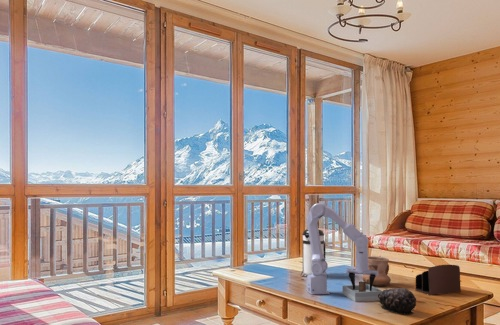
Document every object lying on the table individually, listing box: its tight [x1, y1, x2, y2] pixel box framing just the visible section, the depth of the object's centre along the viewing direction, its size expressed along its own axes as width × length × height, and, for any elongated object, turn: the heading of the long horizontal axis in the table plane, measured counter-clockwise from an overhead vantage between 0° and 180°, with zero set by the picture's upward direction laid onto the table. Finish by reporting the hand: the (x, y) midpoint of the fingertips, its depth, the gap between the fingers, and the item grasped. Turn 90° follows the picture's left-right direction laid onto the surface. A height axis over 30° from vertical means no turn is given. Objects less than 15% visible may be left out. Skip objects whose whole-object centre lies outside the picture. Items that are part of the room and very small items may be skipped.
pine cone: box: [378, 287, 417, 315], centre depth 178 cm, size 10×18×10 cm, turn 38°
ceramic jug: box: [361, 255, 392, 287], centre depth 226 cm, size 18×14×14 cm
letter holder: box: [415, 264, 462, 296], centre depth 212 cm, size 10×20×14 cm, turn 111°
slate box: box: [342, 284, 383, 303], centre depth 200 cm, size 14×14×4 cm
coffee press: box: [300, 228, 326, 277], centre depth 248 cm, size 17×16×30 cm
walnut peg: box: [358, 280, 367, 292], centre depth 200 cm, size 3×3×7 cm
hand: (362, 289), depth 200 cm, fingers open, 7 cm apart
